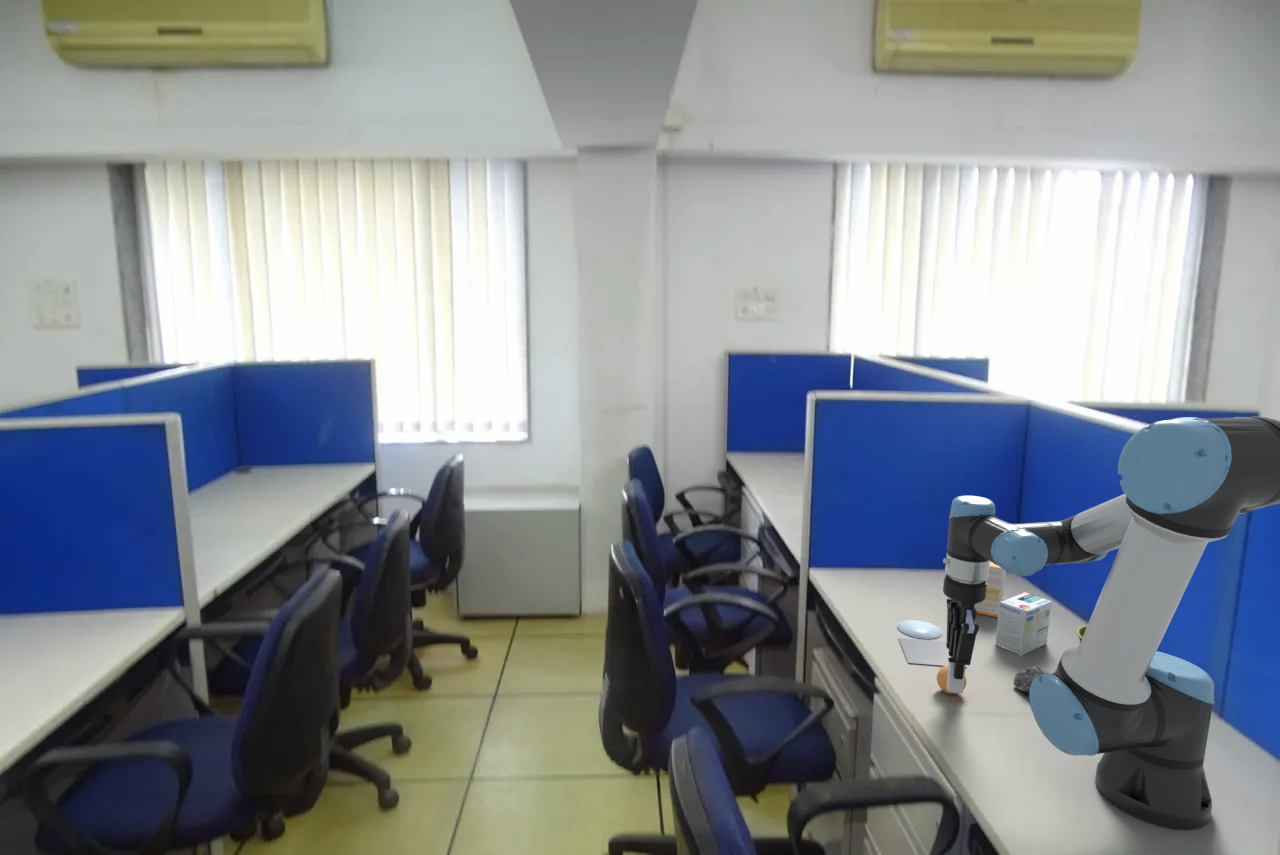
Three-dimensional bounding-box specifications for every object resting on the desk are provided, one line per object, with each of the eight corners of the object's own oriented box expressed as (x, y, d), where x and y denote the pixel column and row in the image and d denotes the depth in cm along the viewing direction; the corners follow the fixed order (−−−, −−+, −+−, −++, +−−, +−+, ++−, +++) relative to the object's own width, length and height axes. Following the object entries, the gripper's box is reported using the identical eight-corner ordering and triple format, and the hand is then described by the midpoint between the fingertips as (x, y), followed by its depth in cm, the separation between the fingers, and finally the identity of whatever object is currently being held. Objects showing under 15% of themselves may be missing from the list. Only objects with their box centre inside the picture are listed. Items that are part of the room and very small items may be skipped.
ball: (968, 700, 144) (971, 674, 144) (939, 698, 145) (941, 672, 144) (961, 686, 150) (963, 661, 149) (932, 684, 151) (935, 659, 150)
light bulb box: (1019, 633, 174) (1024, 590, 172) (1048, 645, 169) (1053, 600, 167) (993, 645, 168) (998, 600, 167) (1022, 656, 163) (1027, 611, 161)
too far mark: (946, 640, 170) (946, 640, 170) (901, 637, 172) (901, 636, 172) (936, 622, 180) (936, 621, 180) (894, 619, 181) (894, 618, 181)
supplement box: (1002, 612, 186) (1007, 563, 184) (1000, 618, 182) (1005, 568, 180) (967, 604, 191) (972, 556, 189) (964, 611, 187) (969, 562, 185)
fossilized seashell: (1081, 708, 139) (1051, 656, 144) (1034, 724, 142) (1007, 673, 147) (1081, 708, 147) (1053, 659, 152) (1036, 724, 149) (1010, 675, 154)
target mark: (966, 668, 157) (966, 667, 157) (908, 663, 159) (908, 662, 159) (952, 643, 169) (952, 642, 169) (898, 639, 171) (898, 638, 171)
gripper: (936, 563, 146) (926, 672, 151) (954, 589, 134) (942, 707, 138) (976, 565, 145) (965, 675, 150) (997, 591, 133) (985, 710, 137)
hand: (954, 690), depth 144 cm, fingers closed
